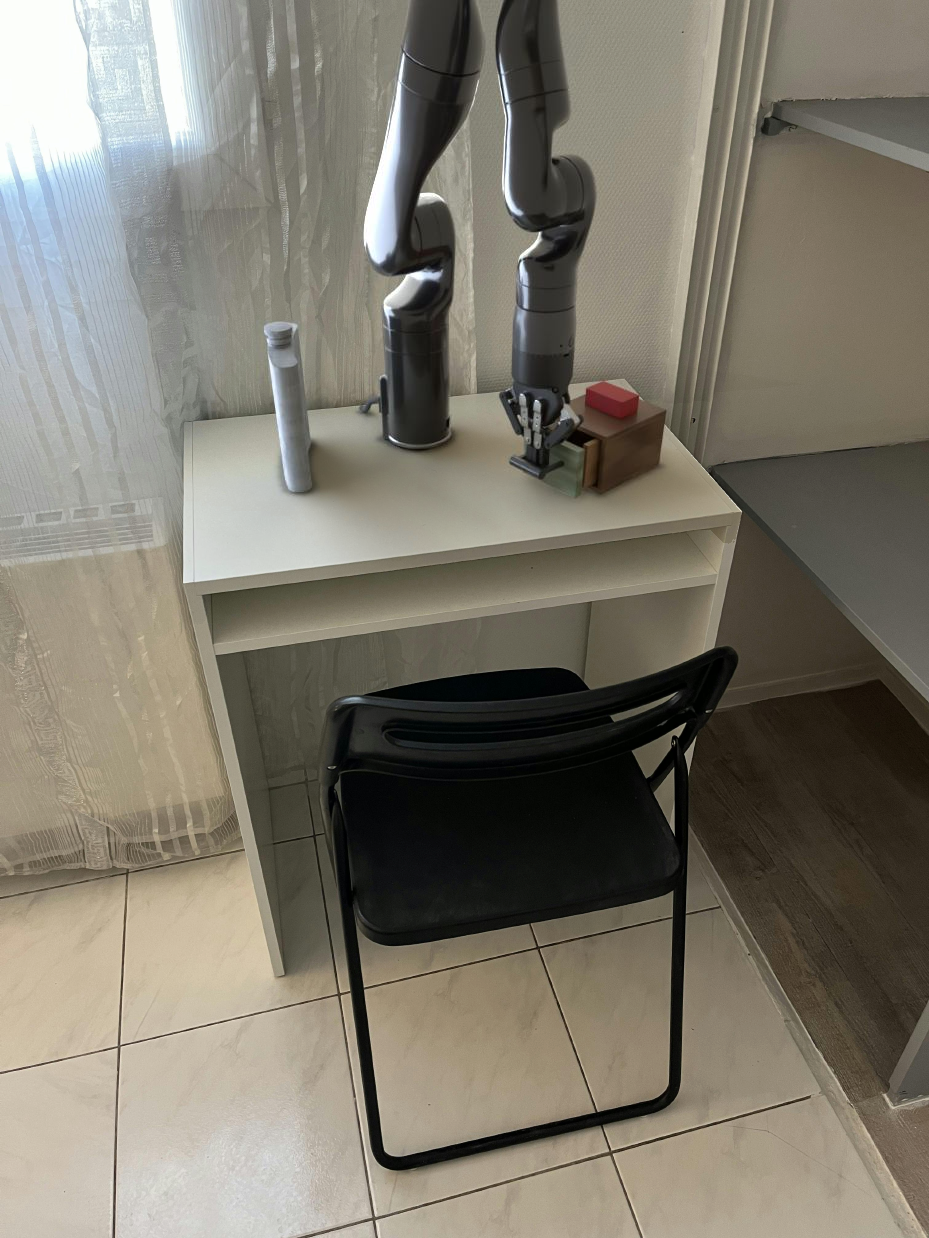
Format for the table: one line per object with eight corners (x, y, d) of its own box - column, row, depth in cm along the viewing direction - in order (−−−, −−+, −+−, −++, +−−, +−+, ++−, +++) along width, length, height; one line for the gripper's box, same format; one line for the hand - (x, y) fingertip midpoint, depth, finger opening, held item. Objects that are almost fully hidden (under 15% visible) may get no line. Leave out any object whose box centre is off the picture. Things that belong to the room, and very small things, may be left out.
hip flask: (312, 491, 126) (295, 347, 114) (281, 493, 125) (261, 348, 113) (310, 439, 138) (295, 303, 126) (283, 440, 138) (265, 305, 126)
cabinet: (600, 494, 125) (606, 437, 120) (542, 466, 131) (545, 410, 126) (659, 465, 132) (666, 409, 126) (600, 439, 138) (605, 385, 133)
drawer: (549, 511, 120) (551, 464, 116) (496, 484, 126) (497, 438, 122) (631, 470, 128) (636, 426, 124) (579, 447, 134) (582, 403, 130)
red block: (637, 411, 126) (639, 395, 125) (620, 419, 124) (622, 402, 123) (601, 397, 130) (603, 380, 128) (584, 404, 128) (585, 387, 126)
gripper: (482, 333, 114) (481, 462, 124) (563, 364, 106) (554, 498, 116) (525, 319, 118) (521, 444, 128) (606, 347, 110) (594, 478, 120)
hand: (537, 470), depth 122 cm, fingers closed
